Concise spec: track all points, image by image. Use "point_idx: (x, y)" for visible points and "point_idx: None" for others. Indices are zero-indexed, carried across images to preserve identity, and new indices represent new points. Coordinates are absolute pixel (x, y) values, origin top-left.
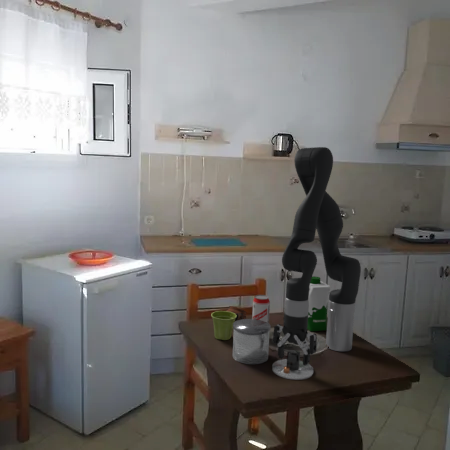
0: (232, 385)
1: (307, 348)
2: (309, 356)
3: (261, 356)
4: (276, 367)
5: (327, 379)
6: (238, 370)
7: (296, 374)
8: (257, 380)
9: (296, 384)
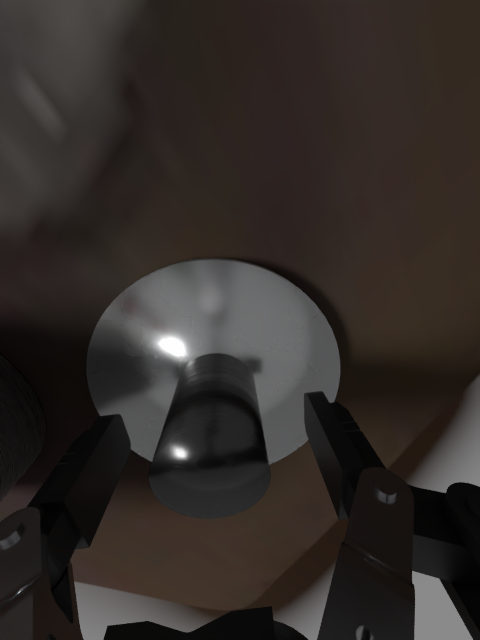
0: (145, 592)
1: (383, 535)
2: (371, 456)
3: (12, 465)
4: (153, 443)
5: (423, 333)
6: None
7: (280, 433)
8: (175, 533)
9: (313, 467)
